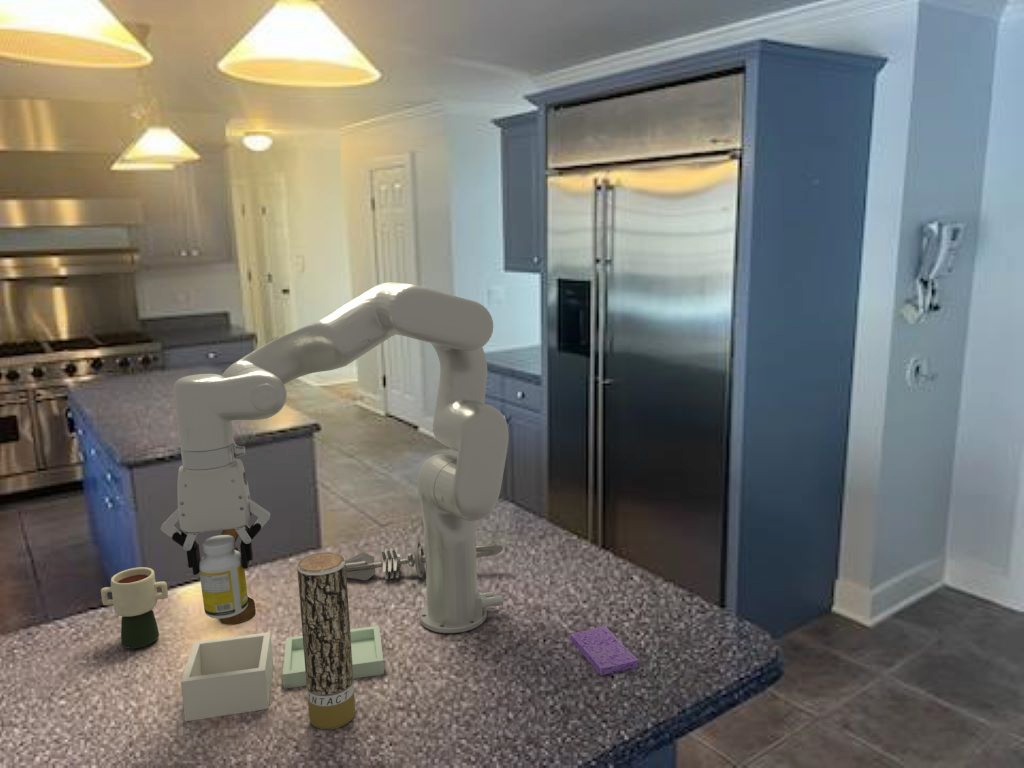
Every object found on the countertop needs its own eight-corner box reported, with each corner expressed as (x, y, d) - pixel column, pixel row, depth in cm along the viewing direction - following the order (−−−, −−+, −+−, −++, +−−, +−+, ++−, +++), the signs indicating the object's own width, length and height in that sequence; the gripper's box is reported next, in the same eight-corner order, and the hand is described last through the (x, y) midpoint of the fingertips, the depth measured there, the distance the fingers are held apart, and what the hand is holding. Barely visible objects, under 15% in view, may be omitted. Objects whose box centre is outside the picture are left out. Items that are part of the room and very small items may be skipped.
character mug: (177, 629, 144) (169, 563, 142) (168, 648, 137) (160, 580, 135) (113, 636, 142) (105, 570, 139) (102, 656, 135) (92, 587, 133)
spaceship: (501, 548, 158) (499, 521, 165) (331, 570, 158) (336, 543, 164) (506, 575, 162) (503, 548, 169) (340, 597, 162) (344, 569, 169)
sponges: (600, 678, 126) (600, 668, 126) (569, 641, 138) (569, 631, 137) (638, 669, 128) (638, 659, 128) (605, 633, 140) (605, 624, 140)
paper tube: (313, 706, 119) (301, 553, 115) (358, 702, 120) (348, 551, 115) (305, 733, 113) (292, 573, 108) (353, 730, 113) (342, 570, 109)
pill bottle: (242, 596, 125) (235, 529, 123) (253, 612, 120) (245, 541, 118) (200, 608, 122) (192, 539, 120) (209, 624, 117) (201, 552, 114)
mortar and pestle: (243, 625, 145) (235, 534, 142) (212, 622, 146) (203, 532, 143) (262, 608, 151) (254, 521, 148) (232, 606, 153) (223, 519, 149)
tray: (379, 638, 139) (378, 625, 139) (384, 674, 128) (383, 660, 127) (287, 650, 136) (286, 637, 135) (283, 688, 124) (282, 674, 124)
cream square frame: (273, 667, 130) (270, 631, 129) (268, 708, 119) (264, 670, 118) (198, 677, 128) (194, 641, 127) (185, 721, 116) (180, 681, 115)
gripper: (270, 444, 121) (281, 551, 125) (152, 455, 118) (166, 565, 121) (267, 458, 114) (278, 571, 118) (141, 469, 111) (156, 586, 114)
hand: (221, 567), depth 120 cm, fingers closed on pill bottle, 6 cm apart
